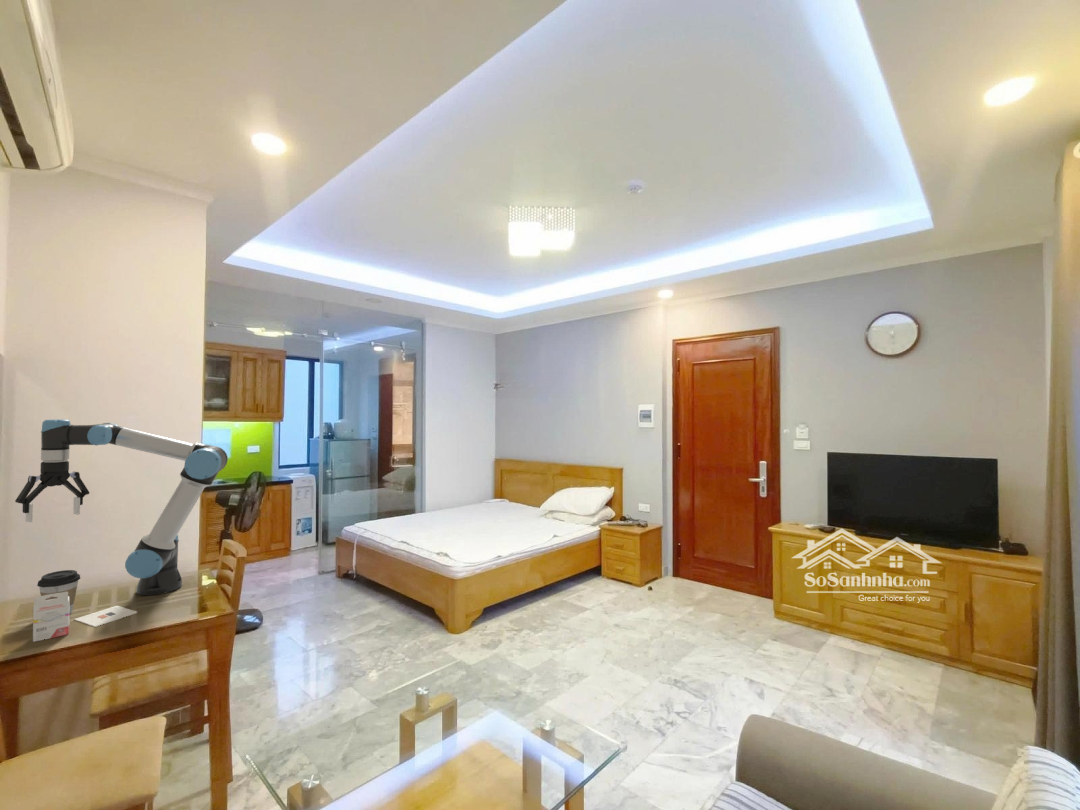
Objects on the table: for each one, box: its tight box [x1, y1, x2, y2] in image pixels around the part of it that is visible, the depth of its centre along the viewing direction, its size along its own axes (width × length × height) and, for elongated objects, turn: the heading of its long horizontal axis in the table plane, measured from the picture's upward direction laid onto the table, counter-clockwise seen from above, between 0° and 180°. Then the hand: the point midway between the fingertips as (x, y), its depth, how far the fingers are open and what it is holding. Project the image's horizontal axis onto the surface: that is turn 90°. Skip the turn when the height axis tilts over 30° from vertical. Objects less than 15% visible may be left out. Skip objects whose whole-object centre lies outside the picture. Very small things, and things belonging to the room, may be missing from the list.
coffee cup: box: [36, 569, 81, 616], centre depth 178 cm, size 11×11×15 cm
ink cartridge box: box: [32, 592, 70, 643], centre depth 163 cm, size 9×5×15 cm, turn 131°
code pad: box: [74, 605, 139, 628], centre depth 178 cm, size 13×13×1 cm
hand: (53, 517), depth 181 cm, fingers open, 13 cm apart
